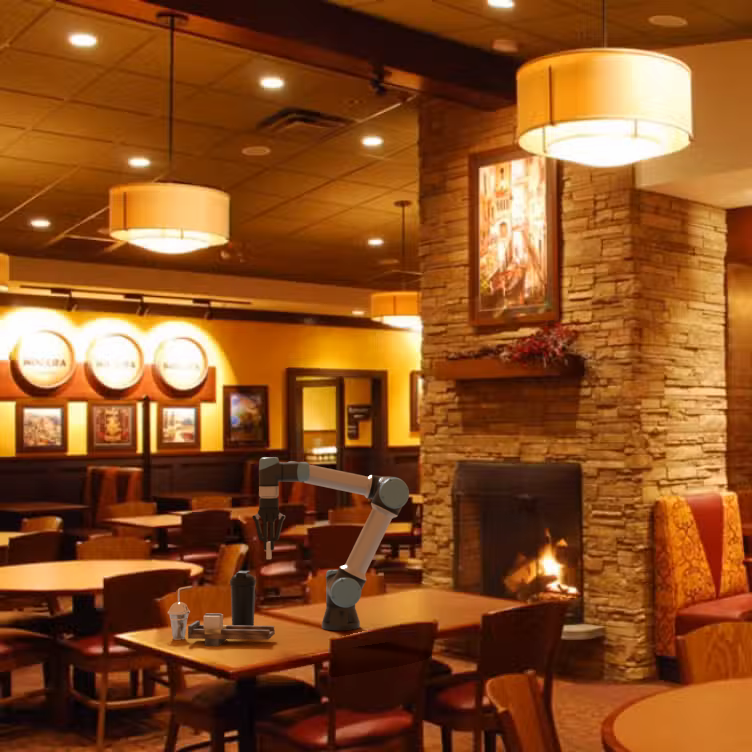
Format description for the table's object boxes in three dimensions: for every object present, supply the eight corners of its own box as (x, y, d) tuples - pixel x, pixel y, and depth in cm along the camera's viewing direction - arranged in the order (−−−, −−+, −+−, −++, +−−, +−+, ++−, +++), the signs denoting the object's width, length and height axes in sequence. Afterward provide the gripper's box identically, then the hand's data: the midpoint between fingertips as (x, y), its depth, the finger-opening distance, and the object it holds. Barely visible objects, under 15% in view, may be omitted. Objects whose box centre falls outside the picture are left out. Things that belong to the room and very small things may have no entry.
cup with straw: (176, 635, 430) (176, 583, 431) (195, 637, 426) (195, 584, 427) (162, 639, 423) (163, 586, 424) (182, 641, 419) (182, 587, 420)
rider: (223, 630, 418) (223, 612, 419) (219, 633, 413) (219, 614, 413) (207, 630, 419) (207, 612, 419) (203, 632, 414) (203, 614, 414)
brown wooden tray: (275, 640, 420) (275, 621, 420) (268, 646, 407) (268, 627, 407) (197, 639, 423) (197, 620, 423) (187, 645, 410) (187, 626, 411)
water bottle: (258, 627, 447) (258, 569, 448) (252, 632, 437) (252, 573, 438) (233, 627, 448) (233, 569, 449) (227, 632, 438) (227, 573, 439)
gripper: (287, 496, 434) (287, 557, 433) (254, 496, 436) (254, 557, 435) (283, 497, 427) (283, 560, 426) (250, 497, 428) (250, 559, 427)
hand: (269, 558), depth 430 cm, fingers closed
